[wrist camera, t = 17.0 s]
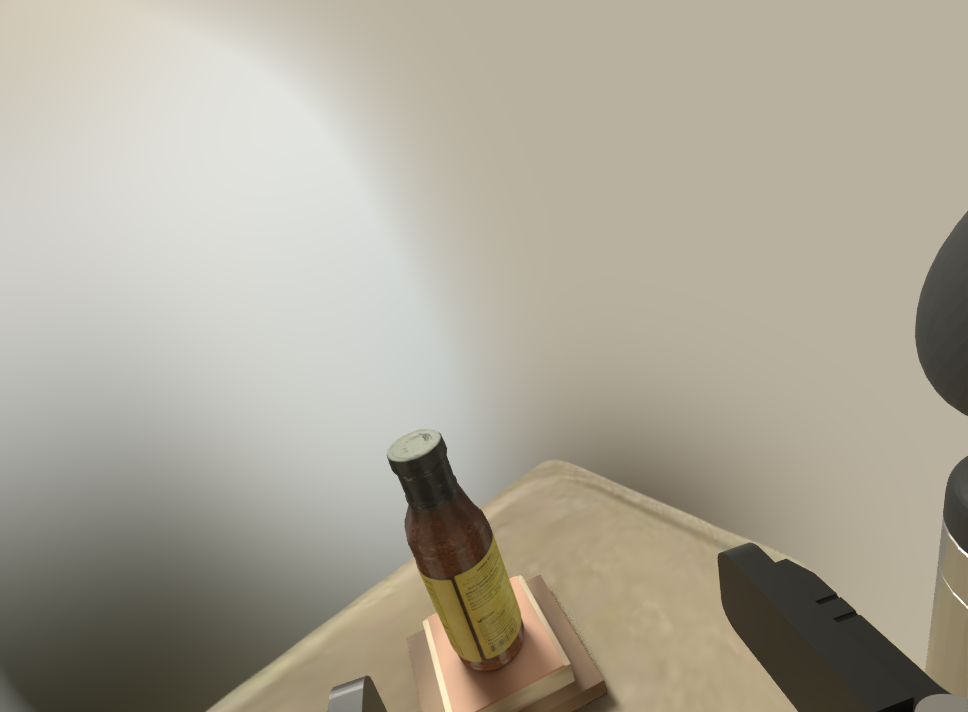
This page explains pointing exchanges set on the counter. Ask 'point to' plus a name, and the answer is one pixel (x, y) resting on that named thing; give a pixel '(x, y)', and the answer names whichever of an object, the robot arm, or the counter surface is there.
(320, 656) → the counter surface
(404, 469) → the sauce bottle
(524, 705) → the pedestal
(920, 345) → the robot arm
